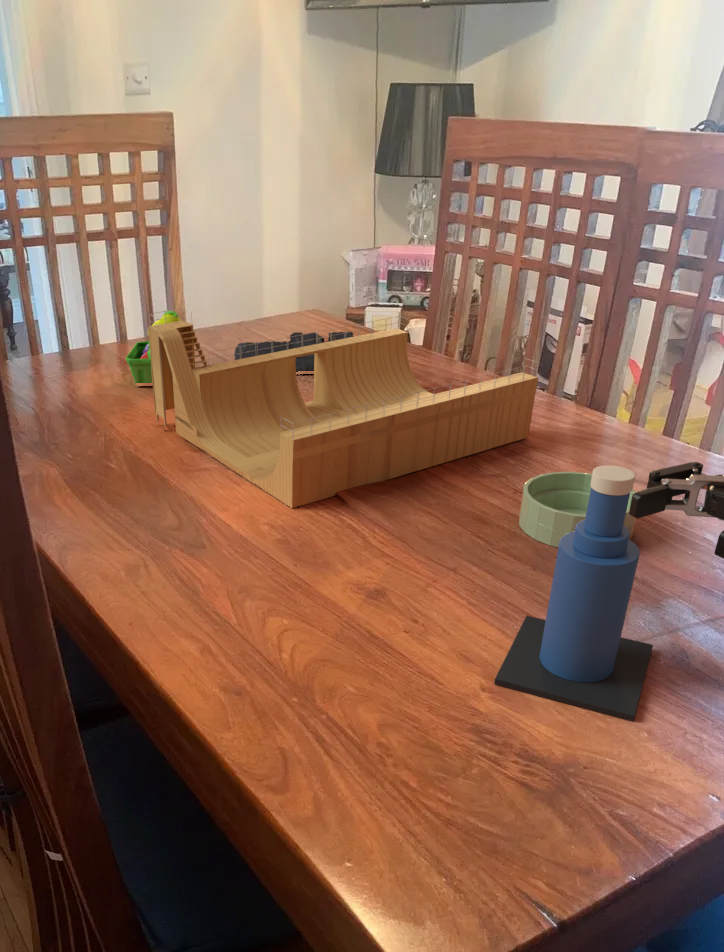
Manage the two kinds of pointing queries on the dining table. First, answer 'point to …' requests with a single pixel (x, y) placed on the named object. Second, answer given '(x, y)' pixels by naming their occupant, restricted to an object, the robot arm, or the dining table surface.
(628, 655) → the mat
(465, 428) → the skate ramp
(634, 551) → the bottle
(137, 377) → the fruit basket
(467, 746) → the dining table surface
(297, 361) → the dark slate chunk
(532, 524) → the bowl
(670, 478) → the robot arm
